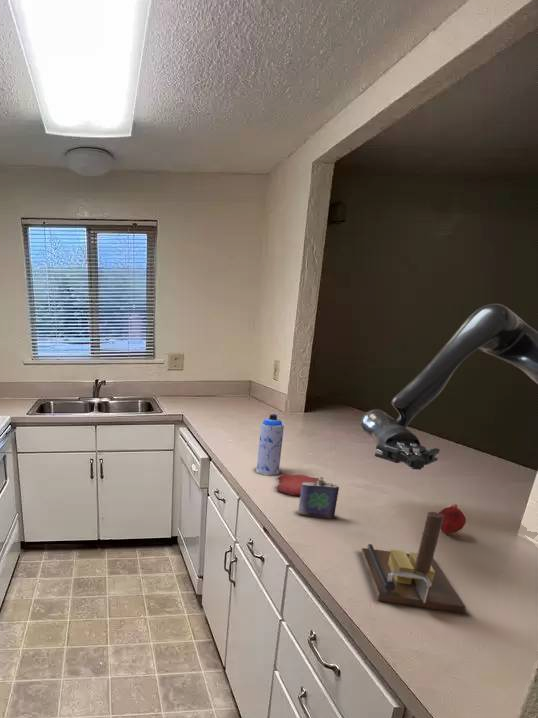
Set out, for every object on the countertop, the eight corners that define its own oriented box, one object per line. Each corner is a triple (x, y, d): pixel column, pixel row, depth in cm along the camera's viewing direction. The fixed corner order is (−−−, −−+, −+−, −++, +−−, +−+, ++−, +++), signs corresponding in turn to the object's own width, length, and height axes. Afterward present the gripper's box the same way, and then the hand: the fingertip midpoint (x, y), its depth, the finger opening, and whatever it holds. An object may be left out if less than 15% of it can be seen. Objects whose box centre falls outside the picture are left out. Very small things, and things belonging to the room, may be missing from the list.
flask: (298, 515, 118) (303, 478, 114) (297, 510, 120) (302, 474, 117) (334, 518, 116) (341, 481, 112) (333, 514, 118) (339, 477, 114)
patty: (279, 475, 147) (280, 470, 146) (323, 480, 142) (324, 475, 141) (274, 494, 132) (275, 488, 131) (324, 500, 127) (325, 494, 126)
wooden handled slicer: (422, 586, 83) (441, 512, 78) (431, 604, 78) (452, 526, 73) (378, 580, 86) (394, 508, 80) (385, 597, 80) (402, 521, 75)
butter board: (431, 562, 95) (436, 542, 93) (463, 613, 79) (470, 590, 77) (360, 553, 99) (364, 534, 97) (377, 600, 83) (382, 578, 81)
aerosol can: (280, 475, 147) (287, 417, 140) (257, 474, 148) (262, 417, 141) (277, 467, 154) (283, 412, 147) (255, 466, 155) (260, 412, 148)
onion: (463, 541, 103) (472, 510, 101) (435, 536, 106) (443, 506, 103) (458, 530, 108) (466, 501, 105) (431, 526, 111) (438, 497, 108)
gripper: (368, 425, 104) (385, 445, 89) (431, 428, 100) (460, 449, 85) (363, 455, 107) (378, 479, 91) (424, 459, 103) (451, 485, 87)
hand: (418, 464), depth 88 cm, fingers closed
